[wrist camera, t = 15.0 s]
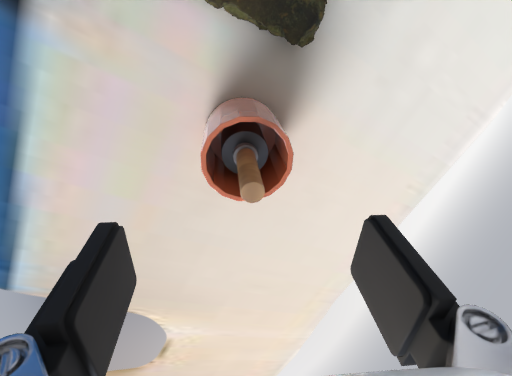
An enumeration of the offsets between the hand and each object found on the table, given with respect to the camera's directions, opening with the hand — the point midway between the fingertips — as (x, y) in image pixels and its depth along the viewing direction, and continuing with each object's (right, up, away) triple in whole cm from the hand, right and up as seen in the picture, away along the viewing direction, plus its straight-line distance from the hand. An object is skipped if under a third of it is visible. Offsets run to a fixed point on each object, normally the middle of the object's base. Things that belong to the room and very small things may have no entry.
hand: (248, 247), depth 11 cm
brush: (-1, +8, +23) cm, 24 cm away
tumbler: (-1, +9, +23) cm, 25 cm away
